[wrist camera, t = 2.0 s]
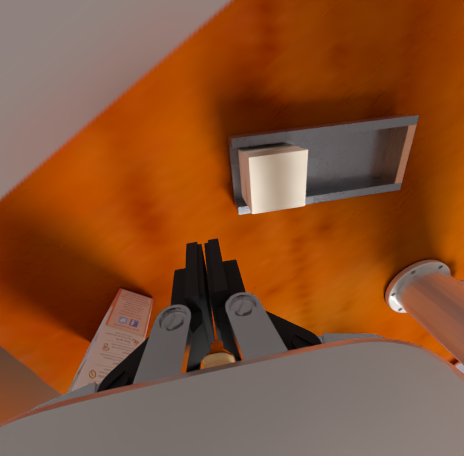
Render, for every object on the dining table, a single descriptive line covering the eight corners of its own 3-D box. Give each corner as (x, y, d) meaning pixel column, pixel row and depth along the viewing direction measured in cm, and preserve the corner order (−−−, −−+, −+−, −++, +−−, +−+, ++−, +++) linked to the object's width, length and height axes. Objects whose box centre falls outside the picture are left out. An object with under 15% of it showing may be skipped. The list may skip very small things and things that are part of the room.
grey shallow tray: (396, 114, 29) (419, 115, 26) (381, 182, 33) (399, 189, 30) (227, 135, 27) (231, 138, 24) (234, 205, 31) (238, 214, 28)
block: (286, 142, 28) (308, 149, 22) (285, 189, 30) (304, 205, 25) (238, 148, 27) (248, 157, 22) (241, 196, 30) (252, 214, 25)
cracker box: (117, 285, 34) (30, 484, 16) (155, 297, 37) (117, 485, 18) (87, 343, 39) (-8, 551, 20) (123, 351, 41) (65, 545, 23)
